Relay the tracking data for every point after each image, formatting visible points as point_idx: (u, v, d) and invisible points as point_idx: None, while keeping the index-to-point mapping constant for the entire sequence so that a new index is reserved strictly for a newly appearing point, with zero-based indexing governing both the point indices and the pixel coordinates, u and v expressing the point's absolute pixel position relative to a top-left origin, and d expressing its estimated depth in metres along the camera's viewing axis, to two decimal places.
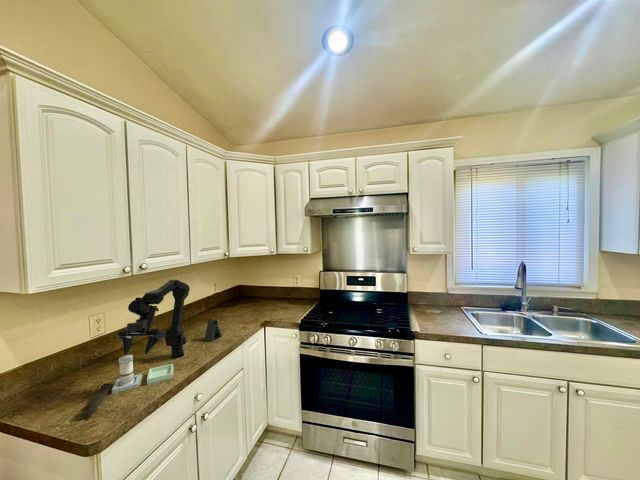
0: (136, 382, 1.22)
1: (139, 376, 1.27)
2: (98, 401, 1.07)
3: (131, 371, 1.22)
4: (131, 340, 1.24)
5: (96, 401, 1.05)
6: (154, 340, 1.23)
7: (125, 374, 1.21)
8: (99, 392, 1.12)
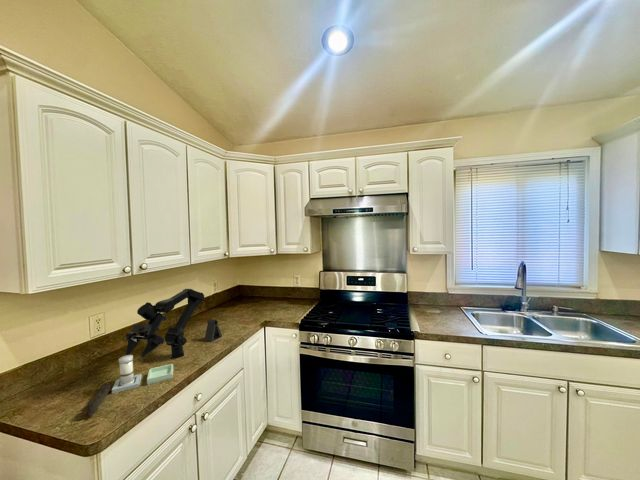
0: (136, 382, 1.22)
1: (139, 376, 1.27)
2: (98, 401, 1.07)
3: (131, 371, 1.22)
4: (136, 343, 1.33)
5: (97, 401, 1.05)
6: (153, 345, 1.29)
7: (125, 374, 1.21)
8: (99, 392, 1.12)
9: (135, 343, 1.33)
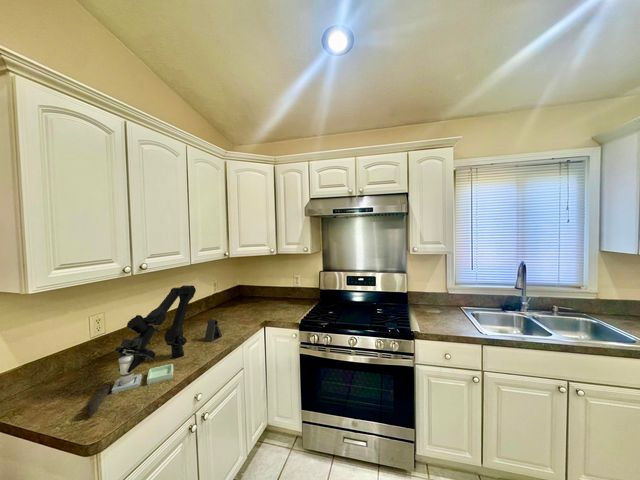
0: (136, 382, 1.22)
1: (139, 376, 1.27)
2: (98, 401, 1.07)
3: (131, 371, 1.22)
4: None
5: (97, 401, 1.05)
6: (140, 360, 1.25)
7: (125, 374, 1.21)
8: (99, 392, 1.12)
9: None
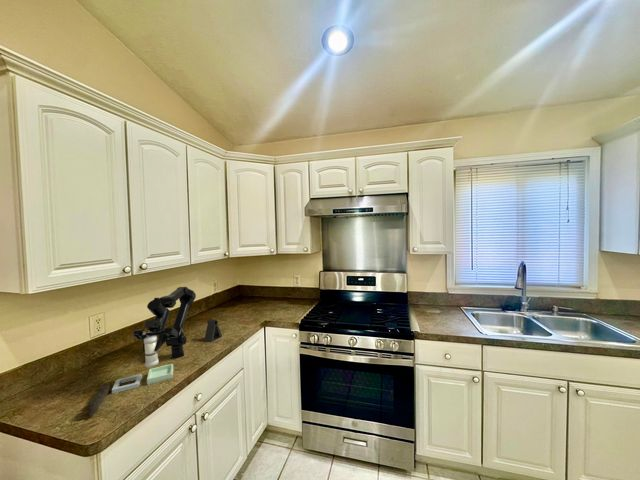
0: (136, 382, 1.22)
1: (139, 376, 1.27)
2: (99, 401, 1.07)
3: None
4: None
5: (97, 401, 1.05)
6: (163, 339, 1.30)
7: (152, 353, 1.25)
8: (99, 392, 1.12)
9: None
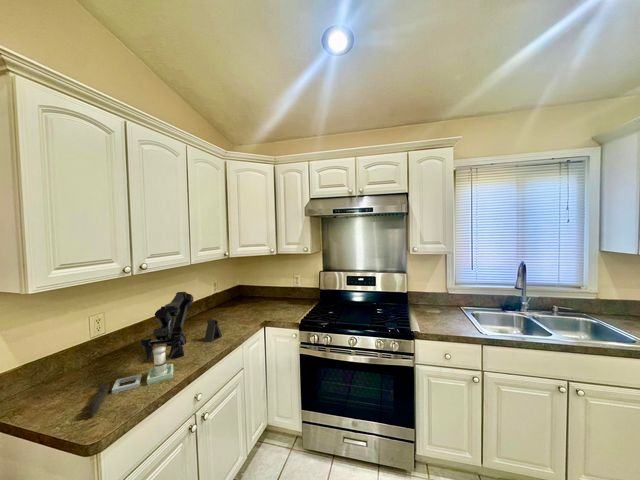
0: (136, 382, 1.22)
1: (139, 376, 1.27)
2: (99, 401, 1.07)
3: (165, 360, 1.30)
4: (151, 349, 1.32)
5: (98, 400, 1.06)
6: (176, 346, 1.33)
7: (162, 363, 1.27)
8: (99, 392, 1.12)
9: (151, 349, 1.32)
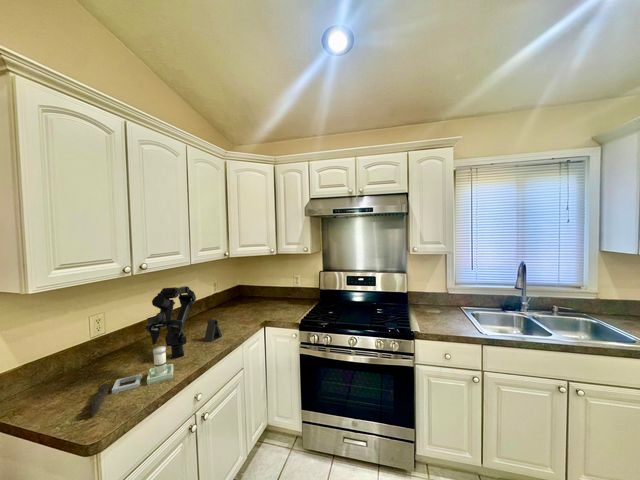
0: (136, 382, 1.22)
1: (139, 376, 1.27)
2: (99, 401, 1.07)
3: (165, 360, 1.30)
4: (158, 331, 1.40)
5: (98, 400, 1.06)
6: (174, 329, 1.36)
7: (162, 363, 1.27)
8: (99, 392, 1.12)
9: (157, 331, 1.39)
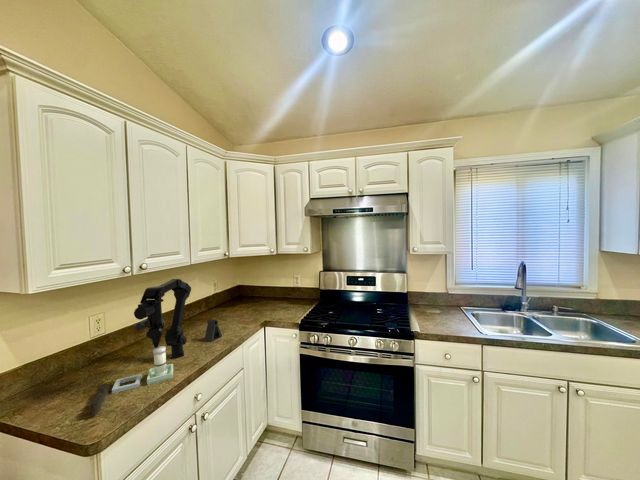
0: (136, 382, 1.22)
1: (139, 376, 1.27)
2: (101, 400, 1.07)
3: (165, 360, 1.30)
4: None
5: (99, 400, 1.06)
6: (157, 336, 1.30)
7: (162, 363, 1.27)
8: (99, 392, 1.12)
9: None
